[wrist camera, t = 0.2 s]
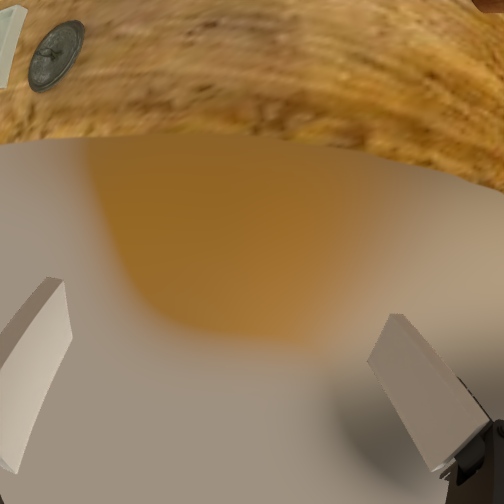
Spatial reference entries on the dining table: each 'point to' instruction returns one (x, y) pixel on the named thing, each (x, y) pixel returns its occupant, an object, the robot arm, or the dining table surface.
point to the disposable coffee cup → (490, 6)
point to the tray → (9, 38)
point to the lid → (55, 55)
